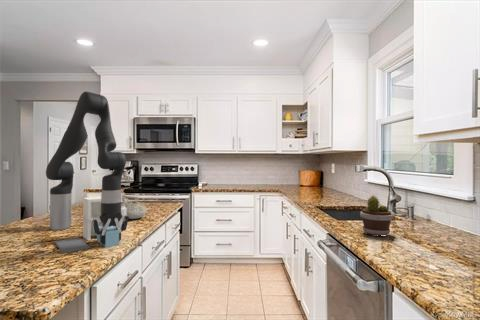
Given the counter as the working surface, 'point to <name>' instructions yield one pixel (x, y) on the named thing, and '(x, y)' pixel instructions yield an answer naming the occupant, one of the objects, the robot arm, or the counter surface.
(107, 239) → the block
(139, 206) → the decorative shell
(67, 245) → the mat
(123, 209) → the can
